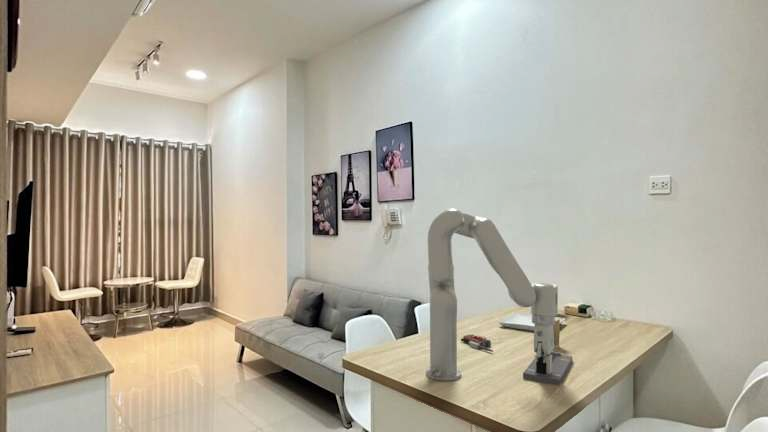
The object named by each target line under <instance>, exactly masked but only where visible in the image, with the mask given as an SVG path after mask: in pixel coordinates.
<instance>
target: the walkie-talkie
mask: <svg viewBox="0 0 768 432" xmlns="http://www.w3.org/2000/svg"><path fill="white" fill-rule="evenodd" d="M460 341H461V342H462V343H463V344H466V345H469V347H471V348H472V349H476V350H484V351H485V352H486V351H487V352H490V353H491V352H492V353H493V352H494V350H493V349H490V347H491V346H492V342H491V340H490V339H487V338H486V336H484V335H481V334H476V335H475V334H474V333H473V334H466V335H464V336H463V337H462V338H460Z"/></svg>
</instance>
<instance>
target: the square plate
mask: <svg viewBox="0 0 768 432" xmlns="http://www.w3.org/2000/svg"><path fill="white" fill-rule="evenodd" d="M555 319H560V325H561V324H562V323H563V322H564V321H566V318H564V317H563V318H562V317H558V316H556V317H555ZM498 323H499V324H500V325H501V326H503V327H505V328H509V329H517V330H522V331H528V330H529V331H530V332H534V327H535V324H534V323H532V314H531V312H530V313H529V312H518V311H517V312H516V311H515V312H513V313H511V314H509V315H508V316H506V317H505V318H503V319H501V320H500V321H498Z"/></svg>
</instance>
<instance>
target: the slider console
mask: <svg viewBox="0 0 768 432" xmlns="http://www.w3.org/2000/svg"><path fill="white" fill-rule="evenodd" d="M550 354H551V355H552V372H551V374H548V373H547V372H546V374H540V373H537V372H535V358H534V359H532V361H531V363H530V364H529V365H528V366H527V367H526V368H525V370H524V371H523V373H522V379H524V380H528V381H529V380H530V381H533V382H538V383H544V384H549V385H552V386H559V387H560V386H561V385H562V382H563V381H564V379H565V377H566V375H567V373H568V371H569V369H570V367H571V365H572V364H573V356H572V355H565V354H562V352H558V351H552V352H551V353H550Z"/></svg>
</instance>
